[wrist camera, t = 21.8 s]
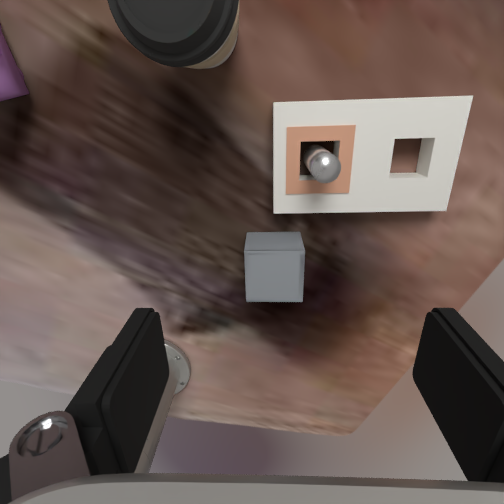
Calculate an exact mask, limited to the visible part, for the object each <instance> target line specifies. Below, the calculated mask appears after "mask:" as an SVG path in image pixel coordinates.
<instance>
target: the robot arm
mask: <svg viewBox="0 0 504 504" xmlns="http://www.w3.org/2000/svg"><path fill="white" fill-rule="evenodd" d="M190 372H191V368H190V363H189V360H188V358H187V357H186V355H185V354H184V352H183V351H182V350H181V349H180V348H178V347H177V346H176V345H174V344H173V343H171V342H169V341H167V340H164V337H163V331H162V326H161V320H160V315H159V313H158V312H155V311H154V309H153V308H136V309H135V310H134V311H133V313H132V315H131V316H130V318H129V319H128V321H127V322H126V324H125V325H124V327H123V328H122V330H121V331H120V333H119V334H118V336H117V337H116V339H115V341H114V342H113V344H112V345H110V346H108V347H107V348H106V350H105V351H104V352H103V354H102V355H101V357H100V358H99V360H98V361H97V363H96V364H95V366H94V367H93V369H92V370H91V372H90V373H89V375H88V376H87V378H86V379H85V381H84V382H83V384H82V385H81V387H80V388H79V390H78V391H77V393H76V394H75V396H74V397H73V399H72V400H71V402H70V403H69V405H68V406H67V408H66V409H65V411H54V412H48V413H46V414H43V415H40V416H38V417H37V418H35V419H33V420H32V421H30V422H29V423H28V424H26V425H25V426H24V427H23V428H21V430H20V431H19V432H18V433H17V434H16V436H15V437H14V438H13V440H12V442H11V444H10V448H9V454H7V455H6V456H4V457H2V458H0V504H504V362H503V360H502V359H501V358H500V357H499V356H498V355H497V354H496V353H495V352H494V351H493V350H492V349H491V348H490V346H488V345H487V343H486V342H485V341H484V340H483V339H482V338H481V337H480V336H479V335H478V334H477V333H476V331H475V330H474V329H473V328H472V327H471V326H470V325H469V324H468V323H467V322H466V321H465V320H464V319H463V317H461V315H460V314H459V313H458V312H457V311H456V310H455V309H454V308H433V309H432V311H431V312H428V313H427V315H426V318H425V322H424V326H423V330H422V334H421V339H420V343H419V347H418V351H417V355H416V359H415V363H414V367H413V379H414V382H415V384H416V386H417V387H418V389H419V391H420V393H421V395H422V397H423V398H424V400H425V402H426V404H427V406H428V408H429V409H430V411H431V413H432V415H433V417H434V419H435V421H436V423H437V424H438V426H439V428H440V430H441V432H442V434H443V436H444V438H445V439H446V441H447V443H448V445H449V447H450V449H451V450H452V452H453V454H454V456H455V458H456V460H457V462H458V463H459V465H460V467H461V469H462V471H463V473H464V475H465V476H466V478H467V480H468V481H451V480H418V479H389V478H355V477H318V476H279V475H235V474H234V475H233V474H232V475H231V474H230V475H229V474H185V473H149V470H150V467H151V464H152V461H153V458H154V455H155V452H156V449H157V446H158V443H159V439H160V436H161V433H162V430H163V427H164V424H165V421H166V418H167V415H168V412H169V409H170V405H171V402H172V399H173V396H174V394H176V393H178V392H180V391H181V390H182V389H183V388H184V387H185V386H186V384H187V383H188V381H189V377H190Z"/></svg>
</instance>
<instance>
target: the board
mask: <svg viewBox="0 0 504 504" xmlns="http://www.w3.org/2000/svg"><path fill="white" fill-rule="evenodd" d="M472 99H473V96H449V97H419V98H390V99H361V100H331V101H302V102H273V211H274V214H280V213H343V212H405V211H446V209H447V205H448V201H449V197H450V192H451V188H452V184H453V180H454V175H455V171H456V167H457V163H458V158H459V154H460V150H461V146H462V141H463V137H464V133H465V129H466V124H467V120H468V116H469V112H470V107H471V103H472ZM405 138H422V141H421V147H420V152H419V157H418V163H417V168H416V173H390V167H391V161H392V154H393V147H394V141H395V139H405ZM304 141H334V148H333V155H335V156H336V157H337V158H338V159H339V161H340V163H341V171H340V174H339V176H338V177H337V178H336V179H335V180H334V181H332V182H330V183H320V182H318V181H317V180H316V179H315V178H314V177H313V175H300V145H301V142H304Z"/></svg>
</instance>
